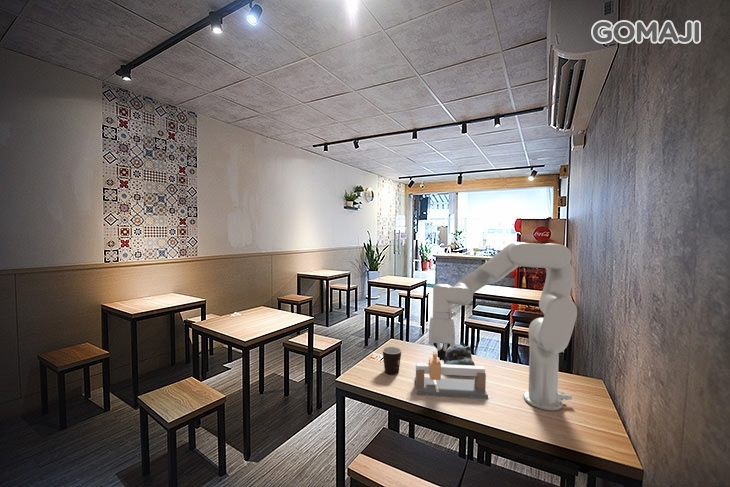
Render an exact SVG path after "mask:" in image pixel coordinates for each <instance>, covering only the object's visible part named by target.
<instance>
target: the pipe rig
mask: <svg viewBox="0 0 730 487" xmlns="http://www.w3.org/2000/svg"><path fill="white" fill-rule="evenodd" d="M440 364H441V375H443V376H447V375H448V376H463V377H464V376H466V377H468V376H469V377H474V379H463V378H446V377H444V378H443V377H441V380H430V376H429V377H426V376H425V374H427V375H429V374H430V364H429V362H428V363H425V362H416V363H415V377H414V382H415V389H416V390H415V391H416V395H418V396H433V397H434V396H435V397H437V396H438V397H453V398H468V399H469V398H472V399H486V400H487V399H489V394H488V392H487V390H486V385H487V382H486V380H487V378H486V377H487V374H486V369H485V366H483V365H475V366H472V365H450V364H444V363H440Z"/></svg>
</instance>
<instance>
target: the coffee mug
mask: <svg viewBox="0 0 730 487" xmlns="http://www.w3.org/2000/svg"><path fill="white" fill-rule="evenodd" d="M382 357H383V369H384V373H385V374H387V375H390V376H396V375H398V374H399V372H400V367H401V366H400V364H401V357H402V349H401V348H399V347H397V346H396V347H395V346H386V347H384V348H382Z"/></svg>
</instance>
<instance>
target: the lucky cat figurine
mask: <svg viewBox="0 0 730 487" xmlns="http://www.w3.org/2000/svg"><path fill="white" fill-rule="evenodd" d="M443 364H450V365H472V366H476V364H475V362H474V361H473V359H472V348H471V346H470V345H467V346H466V343H465V342H461V343H455V346H450V347H449V348H448V349H447V350H446V351H445V358H444V361H443Z"/></svg>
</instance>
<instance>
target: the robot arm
mask: <svg viewBox="0 0 730 487" xmlns="http://www.w3.org/2000/svg"><path fill="white" fill-rule="evenodd" d="M572 255H573V254H572V251H571V250H570V249H569V247H567V246H566V245H563V244H559V243H553V242H552V243H551V242H549V243H532V242H531V243H529V242H522V241H521V242H520V241H513V242H512V243H509V244H507V245H506V246H505V247H504V248H502V249H501V250H500V251H499V252H497V253H496V254H495V255H494V256H492V257H491V258H489V259H488V260H487V261H486V262H484V263H483V264H482V265H481V264H480V265H479V266H478V267H476V269H474V270H473V271H471V272H470V273H468V274H466V275H465V276H464V277H463V278H461V279H460V280H459V281H458V282H457V283H456V284H455V285H454V286H452V285H450V284H447V283H436V284H434V285H433V288H432V295H433V296H432V316H430V319H429V323H428V324H429V326H428V342H427V344H428V345H430V346H434V347H435V349H437V352H436V354H437V358H438V359H439V361H443V362H444V358H445V351H446V350H447V349H448V348H449V347H450V346H455V344H456V342H455V341H456V329H455V328H456V327H455V321H454V320H455V319H454V316H456V311H453V304H454V305H458V306H467V305H469V304H471V302H472V301H473V297H474V294H475V293H476V292H478V291H479V290H480V289H482V288H483V287H485V286H487V285H491V284H495V283H497V282H500V281H502V279H504V278H505V277H506V276H508V275H509V274H510V273H511V272H513V271H514V270H516V269H517V268H518V267H525V268H526V267H527V268H536V269H537V268H539V269H540V268H542V269H545V272H546V276H545V280H544V281H545V282H544V284H543V285H544V286H543V288H542V291H541V295H540V298H539V300H538V307H539V310H540V311H541V313H543V314H544V315H543V317H536V318H535V319H533V320H532V321H530V324H529V326H528V341H529V361H528V363H529V364H528V390H527V391H525V392H524V393H523V398H524V400H525V402H526V403H527V404H528V405H531V406H533V407H535V408H538V409H541V410H545V411H551V412H552V411H553V412H554V411H560V410H561V409H562V408H563V400H564V401H572V400H573V399H572V395H571V394H568V393H566V394H565V393H564V391H558V390H559V389H558V388H559V363H560V362H559V361H560V360H559V358H560V357H559V356H560V355H559V353H562V352H563V351H564V350H565V349H567V348H568V345H569V343H570V340H571V339H572V338H571V337H572V334H573V330H574V329H575V328H574V327H575V324H576V321H577V316H578V308H577V305H576V303H575V302H574V301H573V300H572V299H571V298H570V296H571V293H572V286H573V285H574V284H573V283H574V277H575V276H574V270H573V266H572V263H571V261H572V258H573V257H572ZM441 344H442V346H441Z"/></svg>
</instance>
